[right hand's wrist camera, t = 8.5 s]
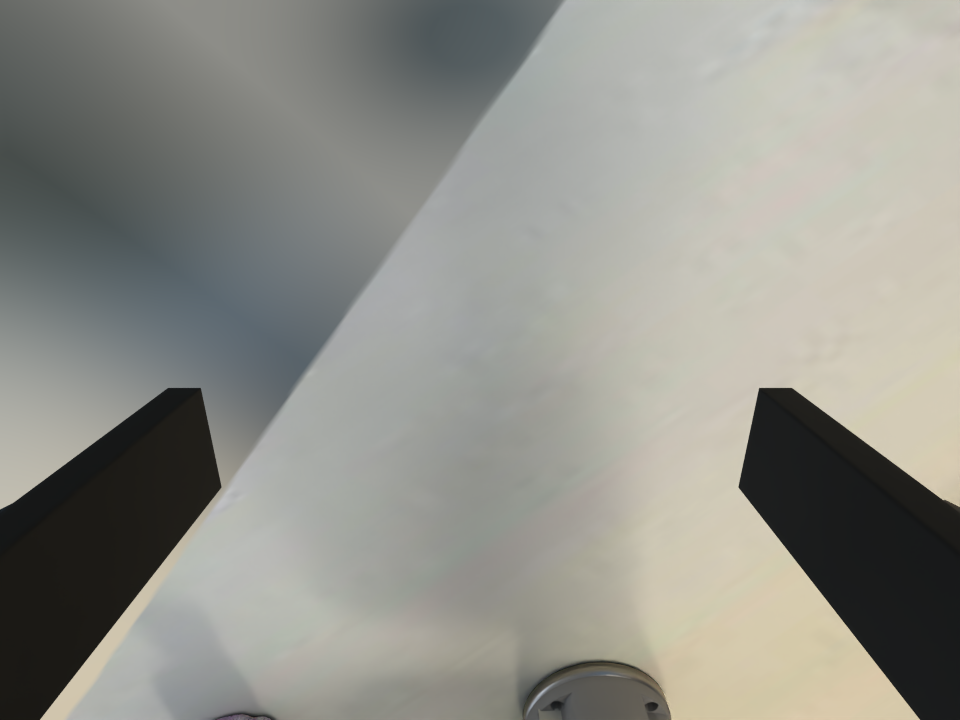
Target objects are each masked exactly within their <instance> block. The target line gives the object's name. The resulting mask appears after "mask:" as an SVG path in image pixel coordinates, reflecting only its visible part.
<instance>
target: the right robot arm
mask: <svg viewBox="0 0 960 720" xmlns="http://www.w3.org/2000/svg"><path fill="white" fill-rule="evenodd" d="M220 489H221V483H220V478H219V473H218V468H217V464H216V459H215V454H214V449H213V445H212V440H211V435H210V430H209V425H208V420H207V416H206V411H205V406H204V401H203V397H202V392H201V388H168V389H166V390H165V391H164V392H162V393H161V394H159V395H158V396H157V397H155V398H154V399H153V400H151V401H150V402H149V403H147V404H146V405H145V406H143V407H142V408H141V409H139V410H138V411H137V412H135V413H134V414H133V415H131V416H130V417H129V418H127V419H126V420H124V421H123V422H122V423H120V424H119V425H118V426H116V427H115V428H114V429H112V430H111V431H110V432H108V433H107V434H106V435H104V436H103V437H102V438H100V439H99V440H98V441H96V442H95V443H93V444H92V445H91V446H89V447H88V448H87V449H85V450H84V451H83V452H81V453H80V454H79V455H77V456H76V457H75V458H73V459H72V460H71V461H69V462H68V463H67V464H65V465H64V466H62V467H61V468H60V469H58V470H57V471H56V472H54V473H53V474H52V475H50V476H49V477H48V478H46V479H45V480H44V481H42V482H41V483H40V484H38V485H37V486H36V487H34V488H33V489H32V490H30V491H29V492H28V493H26V494H25V495H23V496H22V497H21V498H19V499H18V500H17V501H15V502H14V503H13V504H10V505H8V506H6V507H4V508H2V509H0V720H40V719H41V718H42V716H43V715H44V714H45V712H46V711H47V710H48V709H49V707H50V706H51V705H52V704H53V702H54V701H55V700H56V698H57V697H58V696H59V695H60V693H61V692H62V691H63V689H64V688H65V687H66V686H67V684H68V683H69V682H70V680H71V679H72V678H73V677H74V675H75V674H76V673H77V672H78V670H79V669H80V668H81V666H82V665H83V664H84V663H85V661H86V660H87V659H88V657H89V656H90V655H91V654H92V652H93V651H94V650H95V648H96V647H97V646H98V645H99V643H100V642H101V641H102V640H103V638H104V637H105V636H106V634H107V633H108V632H109V631H110V629H111V628H112V627H113V625H114V624H115V623H116V622H117V620H118V619H119V618H120V616H121V615H122V614H123V613H124V611H125V610H126V609H127V608H128V606H129V605H130V604H131V602H132V601H133V600H134V599H135V597H136V596H137V595H138V593H139V592H140V591H141V590H142V588H143V587H144V586H145V584H146V583H147V582H148V581H149V579H150V578H151V577H152V576H153V574H154V573H155V572H156V570H157V569H158V568H159V567H160V565H161V564H162V563H163V561H164V560H165V559H166V558H167V556H168V555H169V554H170V553H171V551H172V550H173V549H174V547H175V546H176V545H177V544H178V542H179V541H180V540H181V538H182V537H183V536H184V535H185V533H186V532H187V531H188V529H189V528H190V527H191V526H192V524H193V523H194V522H195V521H196V519H197V518H198V517H199V515H200V514H201V513H202V512H203V510H204V509H205V508H206V506H207V505H208V504H209V503H210V501H211V500H212V499H213V498H214V496H215V495H216V494H217V492H218V491H219V490H220ZM739 489H740V490H741V491H742V492H743V494H744V495H745V496H746V498H747V499H748V500H749V501H750V503H751V504H752V505H753V506H754V508H755V509H756V510H757V512H758V513H759V514H760V515H761V517H762V518H763V519H764V521H765V522H766V523H767V524H768V526H769V527H770V528H771V529H772V531H773V532H774V533H775V535H776V536H777V537H778V538H779V540H780V541H781V542H782V544H783V545H784V546H785V547H786V549H787V550H788V551H789V553H790V554H791V555H792V556H793V558H794V559H795V560H796V561H797V563H798V564H799V565H800V567H801V568H802V569H803V570H804V572H805V573H806V574H807V576H808V577H809V578H810V579H811V581H812V582H813V583H814V585H815V586H816V587H817V588H818V590H819V591H820V592H821V593H822V595H823V596H824V597H825V599H826V600H827V601H828V602H829V604H830V605H831V606H832V608H833V609H834V610H835V611H836V613H837V614H838V615H839V617H840V618H841V619H842V620H843V622H844V623H845V624H846V625H847V627H848V628H849V629H850V631H851V632H852V633H853V634H854V636H855V637H856V638H857V640H858V641H859V642H860V643H861V645H862V646H863V647H864V648H865V650H866V651H867V652H868V654H869V655H870V656H871V657H872V659H873V660H874V661H875V663H876V664H877V665H878V666H879V668H880V669H881V670H882V672H883V673H884V674H885V675H886V677H887V678H888V679H889V680H890V682H891V683H892V684H893V686H894V687H895V688H896V689H897V691H898V692H899V693H900V695H901V696H902V697H903V698H904V700H905V701H906V702H907V704H908V705H909V706H910V707H911V709H912V710H913V711H914V712H915V714H916V715H917V716H918V718H919V719H920V720H960V507H958V506H956V505H954V504H952V503H950V502H948V501H946V500H942V499H941V498H939V497H938V496H937V495H935V494H934V493H933V492H931V491H930V490H928V489H927V488H926V487H924V486H923V485H922V484H920V483H919V482H918V481H916V480H915V479H914V478H912V477H911V476H910V475H908V474H907V473H906V472H904V471H903V470H902V469H900V468H899V467H898V466H896V465H895V464H893V463H892V462H891V461H889V460H888V459H887V458H885V457H884V456H883V455H881V454H880V453H879V452H877V451H876V450H875V449H873V448H872V447H871V446H869V445H868V444H867V443H865V442H864V441H862V440H861V439H860V438H858V437H857V436H856V435H854V434H853V433H852V432H850V431H849V430H848V429H846V428H845V427H844V426H842V425H841V424H840V423H838V422H837V421H836V420H834V419H833V418H832V417H830V416H829V415H827V414H826V413H825V412H823V411H822V410H821V409H819V408H818V407H817V406H815V405H814V404H813V403H811V402H810V401H809V400H807V399H806V398H805V397H803V396H802V395H801V394H799V393H798V392H796V391H795V390H794V389H792V388H759V392H758V397H757V401H756V406H755V411H754V416H753V420H752V425H751V430H750V435H749V440H748V444H747V449H746V454H745V459H744V463H743V468H742V473H741V478H740V482H739ZM523 720H671V715H670V711H669V708H668V705H667V702H666V699H665V696H664V694H663V692H662V690H661V688H660V687H659V686H658V684H657V683H656V682H655V681H654V680H653V679H651V678H650V677H649V676H647V675H646V674H644V673H643V672H641V671H639V670H637V669H634V668H631V667H628V666H625V665H620V664H615V663H603V662H599V663H586V664H580V665H576V666H572V667H569V668H566V669H563V670H561V671H558V672H556V673H554V674H552V675H551V676H549V677H547V678H546V679H545V680H543V681H542V682H541V683H540V684H539V685H537V687H536V688H535V689H534V690H533V691H532V692H531V694H530V695H529V697H528V699H527V701H526V703H525V707H524V712H523Z"/></svg>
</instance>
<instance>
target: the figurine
mask: <svg viewBox="0 0 960 720" xmlns="http://www.w3.org/2000/svg"><path fill="white" fill-rule="evenodd" d="M217 720H271V719H269V718H267V717H263V716H261V717H251V716H249V715H244V714H240V715H233V716H228V717H223V718H220V719H217Z"/></svg>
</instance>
